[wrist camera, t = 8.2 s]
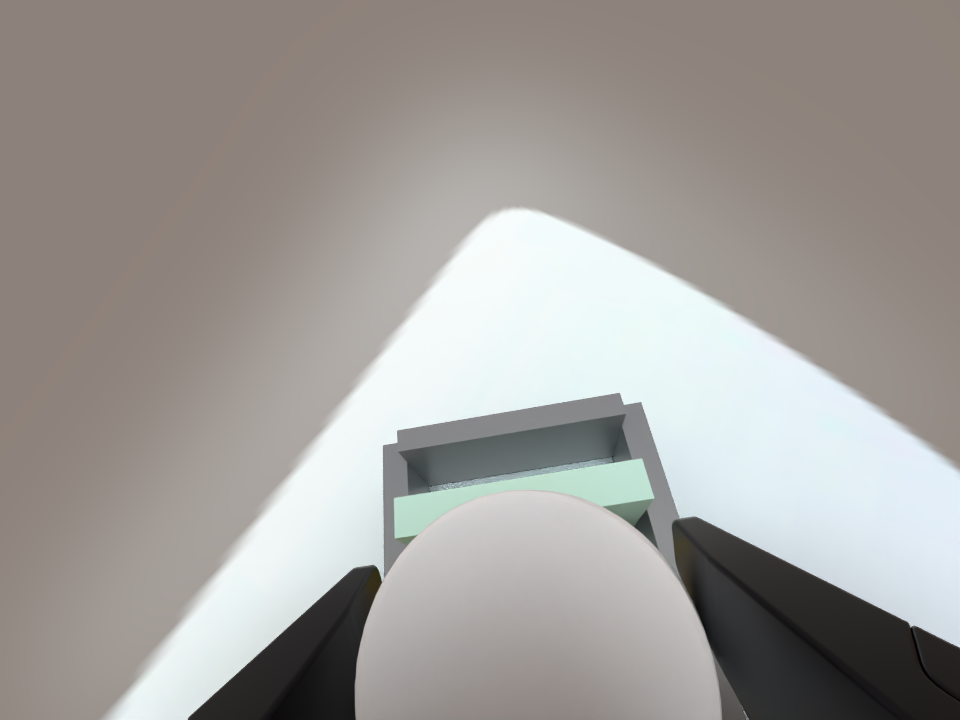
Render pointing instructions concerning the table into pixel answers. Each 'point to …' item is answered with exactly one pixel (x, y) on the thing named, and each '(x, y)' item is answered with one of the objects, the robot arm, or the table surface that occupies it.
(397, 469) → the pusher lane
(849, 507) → the table surface
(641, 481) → the plate
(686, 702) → the supplement bottle
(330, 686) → the robot arm
